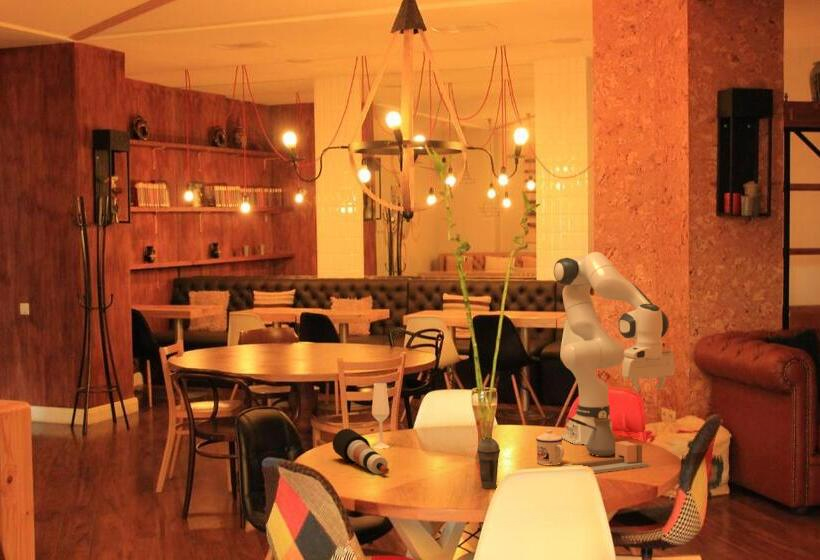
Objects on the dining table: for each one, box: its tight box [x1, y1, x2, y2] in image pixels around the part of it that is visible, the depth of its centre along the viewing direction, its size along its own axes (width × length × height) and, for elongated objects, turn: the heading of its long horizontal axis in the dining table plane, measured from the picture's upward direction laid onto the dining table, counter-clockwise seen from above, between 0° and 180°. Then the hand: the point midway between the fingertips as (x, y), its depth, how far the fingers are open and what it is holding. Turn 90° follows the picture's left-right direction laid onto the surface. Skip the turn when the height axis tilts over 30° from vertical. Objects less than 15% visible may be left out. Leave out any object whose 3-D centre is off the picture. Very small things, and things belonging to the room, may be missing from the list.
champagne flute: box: [371, 382, 391, 450], centre depth 395 cm, size 7×7×24 cm
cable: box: [332, 428, 390, 475], centre depth 362 cm, size 10×34×10 cm, turn 24°
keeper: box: [614, 440, 638, 463], centre depth 360 cm, size 7×4×6 cm, turn 25°
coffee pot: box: [564, 417, 617, 457], centre depth 374 cm, size 21×12×15 cm, turn 117°
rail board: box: [562, 440, 648, 474], centre depth 356 cm, size 12×26×7 cm, turn 115°
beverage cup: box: [476, 424, 501, 490], centre depth 331 cm, size 7×7×20 cm
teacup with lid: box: [535, 429, 565, 466], centre depth 363 cm, size 12×9×12 cm
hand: (648, 390), depth 366 cm, fingers open, 8 cm apart
